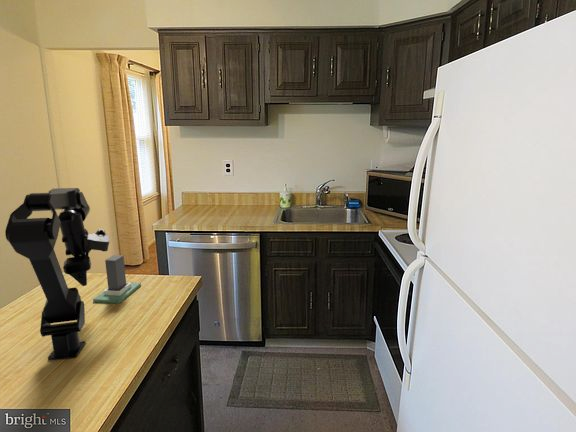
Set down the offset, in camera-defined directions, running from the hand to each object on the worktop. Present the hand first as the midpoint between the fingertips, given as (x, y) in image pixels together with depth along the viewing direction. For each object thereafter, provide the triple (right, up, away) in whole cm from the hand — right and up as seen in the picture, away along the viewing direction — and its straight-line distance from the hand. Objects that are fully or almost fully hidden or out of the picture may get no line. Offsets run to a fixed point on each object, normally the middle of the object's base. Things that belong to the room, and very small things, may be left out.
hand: (85, 277), depth 107 cm
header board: (+2, -8, +16) cm, 18 cm away
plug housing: (+2, -7, +16) cm, 18 cm away
